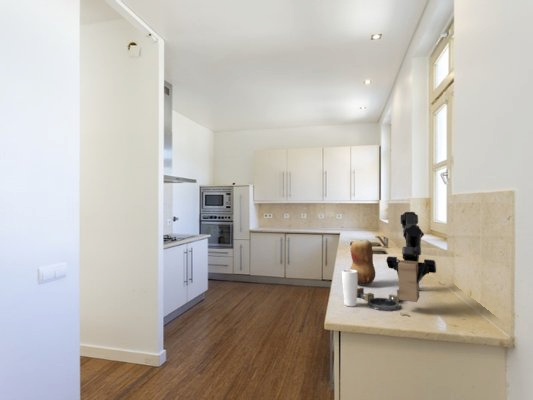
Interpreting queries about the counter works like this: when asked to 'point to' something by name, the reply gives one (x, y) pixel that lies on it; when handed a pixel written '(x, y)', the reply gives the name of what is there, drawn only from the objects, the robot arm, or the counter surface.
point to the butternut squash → (363, 261)
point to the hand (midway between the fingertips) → (408, 281)
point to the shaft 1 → (365, 296)
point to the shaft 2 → (395, 296)
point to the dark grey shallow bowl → (383, 304)
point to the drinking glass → (350, 287)
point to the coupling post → (408, 280)
